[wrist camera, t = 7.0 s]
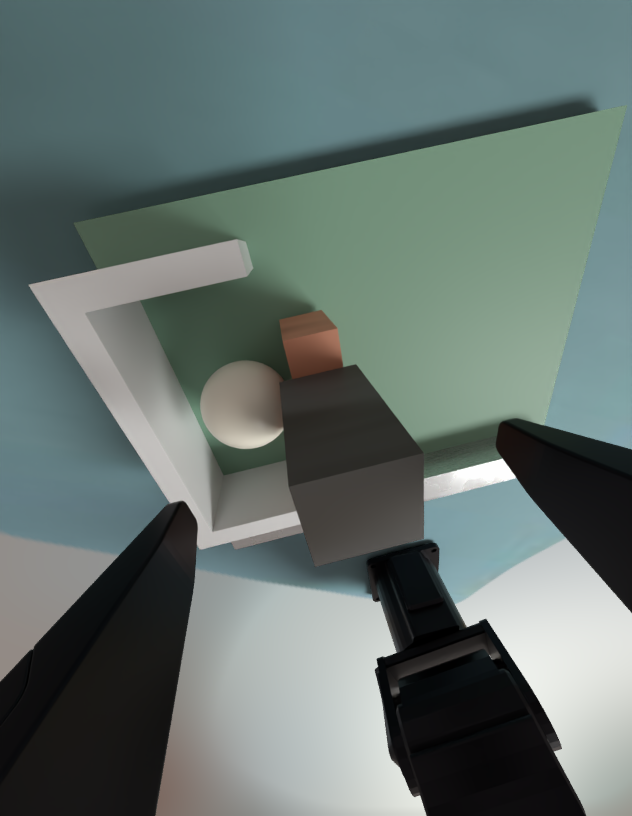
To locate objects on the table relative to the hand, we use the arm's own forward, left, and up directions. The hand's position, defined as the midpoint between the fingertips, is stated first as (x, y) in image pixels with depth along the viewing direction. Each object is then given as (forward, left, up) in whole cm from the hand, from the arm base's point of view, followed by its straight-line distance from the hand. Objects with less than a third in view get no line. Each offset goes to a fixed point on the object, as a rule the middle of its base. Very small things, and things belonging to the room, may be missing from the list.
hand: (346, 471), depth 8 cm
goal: (0, +4, -8) cm, 9 cm away
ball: (0, +3, -6) cm, 7 cm away
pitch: (-1, -3, -9) cm, 10 cm away
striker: (-4, 0, -8) cm, 8 cm away
